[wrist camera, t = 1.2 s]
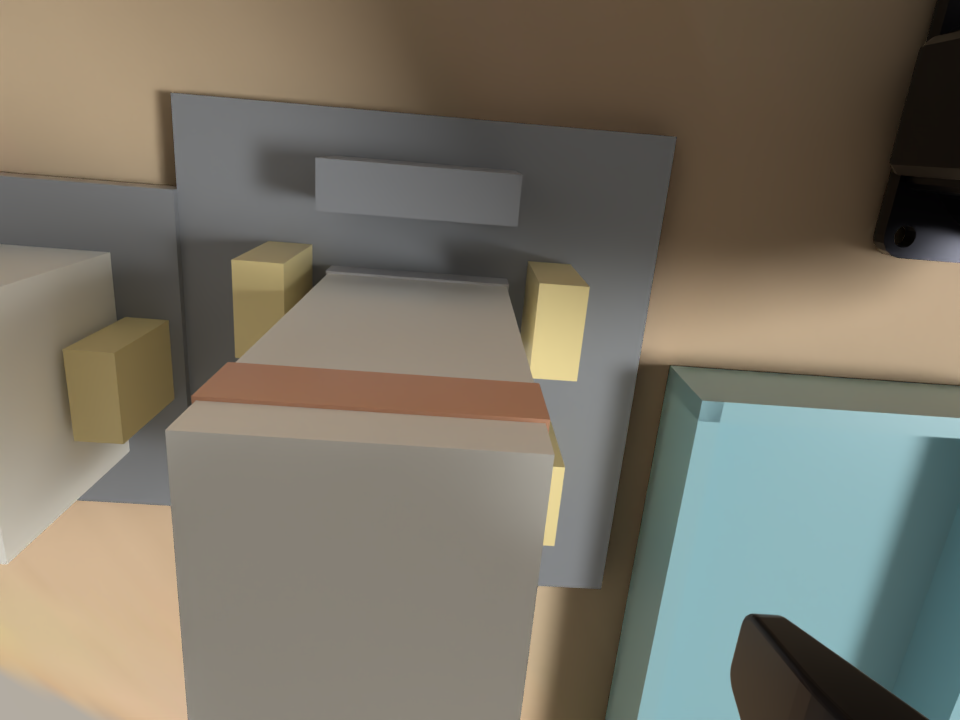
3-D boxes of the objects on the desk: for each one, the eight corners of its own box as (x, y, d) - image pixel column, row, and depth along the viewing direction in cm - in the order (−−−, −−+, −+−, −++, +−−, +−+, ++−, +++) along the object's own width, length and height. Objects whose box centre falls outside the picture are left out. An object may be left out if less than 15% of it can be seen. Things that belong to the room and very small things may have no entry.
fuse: (507, 278, 15) (560, 450, 7) (488, 471, 17) (512, 806, 8) (332, 265, 15) (159, 425, 7) (330, 461, 17) (190, 794, 8)
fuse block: (669, 136, 15) (774, 135, 10) (596, 575, 19) (646, 738, 14) (-123, 68, 14) (-455, 26, 9) (-31, 541, 18) (-228, 700, 13)
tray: (1005, 389, 17) (1087, 426, 15) (855, 803, 22) (900, 881, 20) (669, 365, 17) (702, 400, 14) (591, 793, 21) (606, 870, 19)
